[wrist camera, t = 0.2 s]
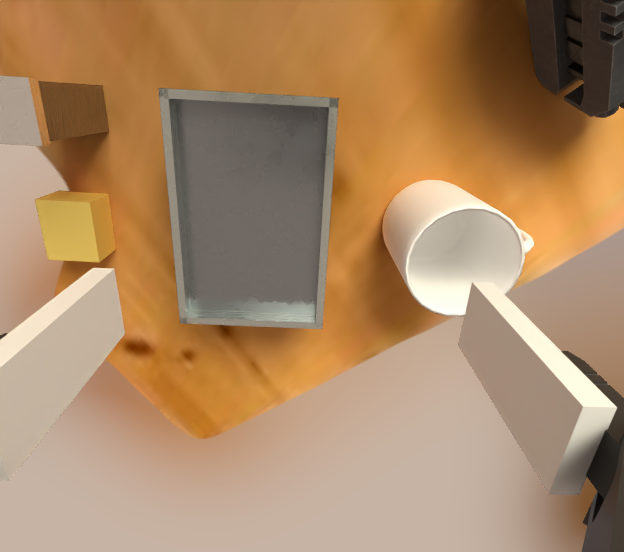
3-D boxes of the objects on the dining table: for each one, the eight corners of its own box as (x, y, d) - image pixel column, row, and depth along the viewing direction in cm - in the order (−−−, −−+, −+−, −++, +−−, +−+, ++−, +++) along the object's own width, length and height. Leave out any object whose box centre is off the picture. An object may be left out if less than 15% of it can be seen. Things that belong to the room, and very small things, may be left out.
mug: (369, 196, 41) (390, 230, 31) (485, 154, 40) (550, 175, 29) (393, 275, 45) (420, 330, 34) (501, 240, 43) (564, 286, 33)
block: (59, 190, 41) (34, 199, 38) (108, 193, 41) (89, 202, 38) (69, 246, 44) (48, 259, 40) (116, 248, 44) (99, 262, 40)
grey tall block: (55, 80, 37) (-40, 73, 27) (104, 83, 37) (28, 77, 27) (65, 131, 39) (-21, 142, 29) (111, 133, 39) (42, 145, 29)
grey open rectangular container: (195, 90, 37) (150, 87, 27) (335, 98, 38) (346, 98, 27) (206, 270, 45) (174, 323, 34) (323, 275, 45) (328, 329, 34)
